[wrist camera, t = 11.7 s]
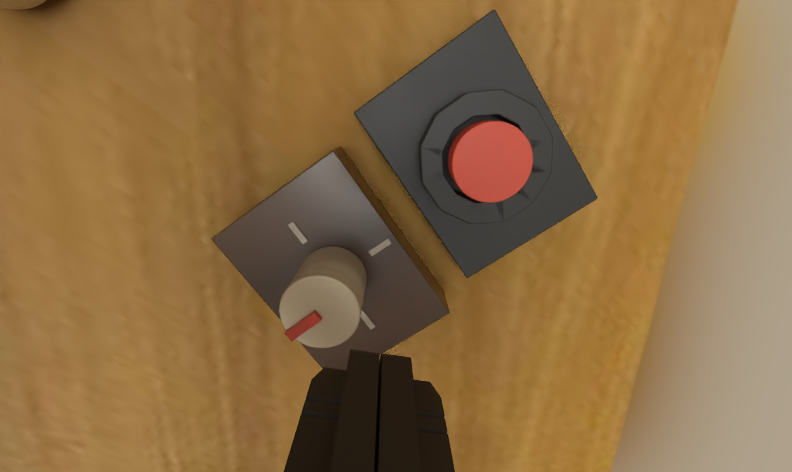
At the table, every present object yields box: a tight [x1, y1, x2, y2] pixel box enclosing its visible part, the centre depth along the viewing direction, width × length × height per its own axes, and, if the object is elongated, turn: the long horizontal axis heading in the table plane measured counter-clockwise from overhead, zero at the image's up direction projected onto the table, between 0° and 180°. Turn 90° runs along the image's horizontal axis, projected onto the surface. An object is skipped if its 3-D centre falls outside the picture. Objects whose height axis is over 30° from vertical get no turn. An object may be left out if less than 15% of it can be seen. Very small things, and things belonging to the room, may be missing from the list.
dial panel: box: [212, 147, 450, 370], centre depth 25 cm, size 12×9×3 cm
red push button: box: [448, 120, 533, 203], centre depth 20 cm, size 4×4×2 cm
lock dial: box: [279, 246, 367, 348], centre depth 21 cm, size 4×4×5 cm
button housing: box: [354, 10, 597, 278], centre depth 23 cm, size 12×9×4 cm
